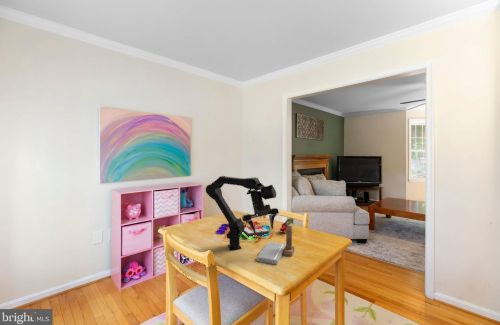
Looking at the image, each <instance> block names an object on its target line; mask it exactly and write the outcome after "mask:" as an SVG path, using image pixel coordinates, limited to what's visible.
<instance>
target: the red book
mask: <svg viewBox="0 0 500 325" xmlns="http://www.w3.org/2000/svg"><path fill="white" fill-rule="evenodd" d="M254 228H255V232H256V234H255V233H254V231H253V229H252V228H251V226H249V227H245V229H244V231H243V232H244V233H245V234H246V235H247V236H248V237H249V236H253V235H257V236H262V235H264V234H267V233H269V234H270V231H269V229H266V228H265V227H263V226H262V225H257V226H256V225H254Z"/></svg>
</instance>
